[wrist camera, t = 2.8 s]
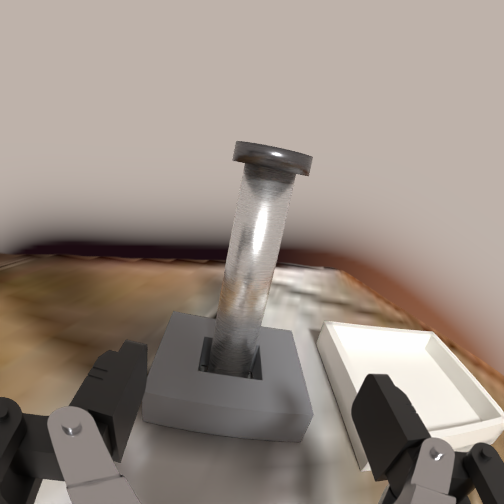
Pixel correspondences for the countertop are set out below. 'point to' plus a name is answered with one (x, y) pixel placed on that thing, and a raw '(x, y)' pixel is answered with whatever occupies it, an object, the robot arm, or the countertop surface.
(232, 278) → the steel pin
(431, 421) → the tray
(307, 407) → the block
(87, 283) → the countertop surface
